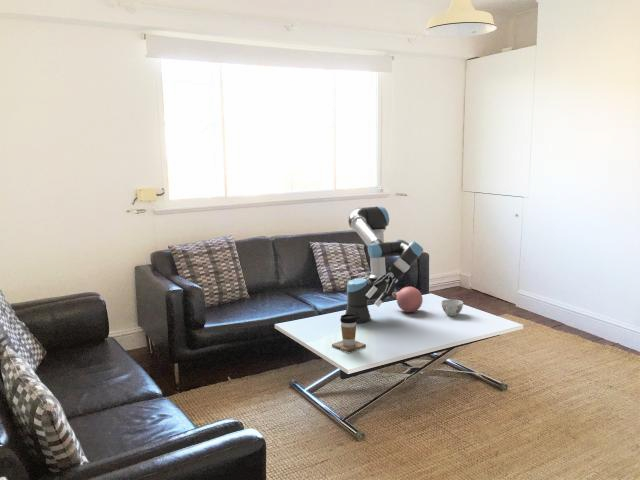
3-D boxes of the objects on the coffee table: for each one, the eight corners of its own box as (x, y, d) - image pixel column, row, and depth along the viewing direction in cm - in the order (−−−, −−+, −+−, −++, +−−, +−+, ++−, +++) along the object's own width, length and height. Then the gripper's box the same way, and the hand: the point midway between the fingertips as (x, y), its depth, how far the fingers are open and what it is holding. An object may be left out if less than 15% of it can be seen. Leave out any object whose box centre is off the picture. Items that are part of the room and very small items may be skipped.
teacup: (445, 310, 325) (446, 297, 324) (466, 313, 318) (466, 300, 317) (436, 317, 313) (436, 303, 312) (456, 320, 306) (457, 307, 305)
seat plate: (331, 346, 270) (331, 344, 270) (348, 340, 278) (348, 338, 278) (348, 353, 262) (348, 350, 261) (365, 346, 270) (365, 344, 269)
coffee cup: (356, 347, 265) (355, 318, 262) (339, 346, 267) (338, 317, 264) (358, 341, 273) (358, 313, 270) (341, 340, 275) (341, 312, 272)
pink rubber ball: (399, 305, 338) (399, 281, 335) (427, 311, 325) (427, 286, 322) (385, 311, 327) (385, 286, 324) (413, 317, 313) (413, 291, 311)
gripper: (413, 279, 259) (385, 313, 259) (395, 266, 282) (369, 297, 283) (403, 270, 256) (374, 304, 257) (385, 258, 280) (359, 289, 280)
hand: (371, 300), depth 270 cm, fingers open, 13 cm apart
